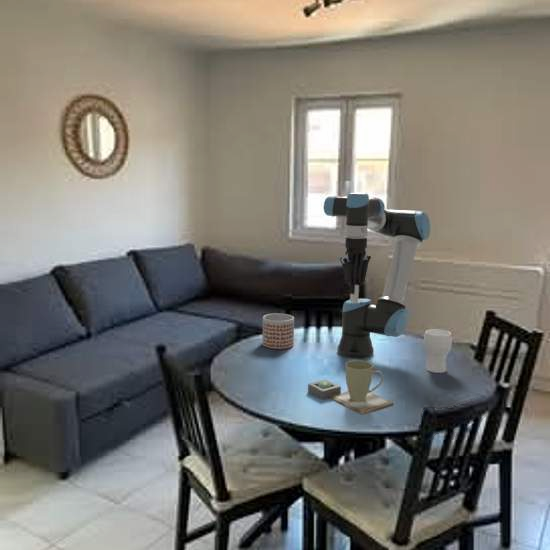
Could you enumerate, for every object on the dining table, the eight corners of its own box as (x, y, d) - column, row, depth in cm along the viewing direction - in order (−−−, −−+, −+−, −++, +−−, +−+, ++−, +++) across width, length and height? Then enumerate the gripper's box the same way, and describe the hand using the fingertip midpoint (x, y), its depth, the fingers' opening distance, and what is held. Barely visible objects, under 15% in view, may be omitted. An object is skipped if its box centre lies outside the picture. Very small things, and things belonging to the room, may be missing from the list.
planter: (293, 350, 244) (294, 321, 241) (262, 349, 244) (262, 320, 241) (293, 340, 257) (293, 313, 255) (263, 340, 257) (263, 313, 255)
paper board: (329, 397, 193) (329, 395, 193) (359, 389, 201) (360, 387, 200) (361, 414, 180) (361, 412, 180) (393, 404, 188) (393, 402, 188)
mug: (356, 407, 183) (357, 371, 181) (338, 396, 192) (340, 362, 190) (383, 401, 189) (385, 366, 186) (365, 390, 197) (366, 357, 195)
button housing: (307, 392, 198) (308, 383, 197) (325, 387, 202) (326, 379, 202) (322, 399, 191) (322, 391, 191) (340, 394, 196) (340, 386, 195)
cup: (451, 375, 215) (454, 337, 213) (422, 373, 217) (424, 335, 215) (448, 366, 226) (451, 329, 223) (421, 364, 228) (423, 327, 225)
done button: (315, 390, 197) (315, 382, 197) (325, 387, 200) (325, 380, 199) (323, 394, 193) (323, 386, 193) (333, 392, 196) (333, 384, 195)
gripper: (349, 239, 194) (347, 306, 198) (377, 237, 201) (374, 302, 205) (335, 237, 200) (333, 302, 204) (362, 235, 207) (360, 298, 211)
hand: (354, 302), depth 205 cm, fingers closed
